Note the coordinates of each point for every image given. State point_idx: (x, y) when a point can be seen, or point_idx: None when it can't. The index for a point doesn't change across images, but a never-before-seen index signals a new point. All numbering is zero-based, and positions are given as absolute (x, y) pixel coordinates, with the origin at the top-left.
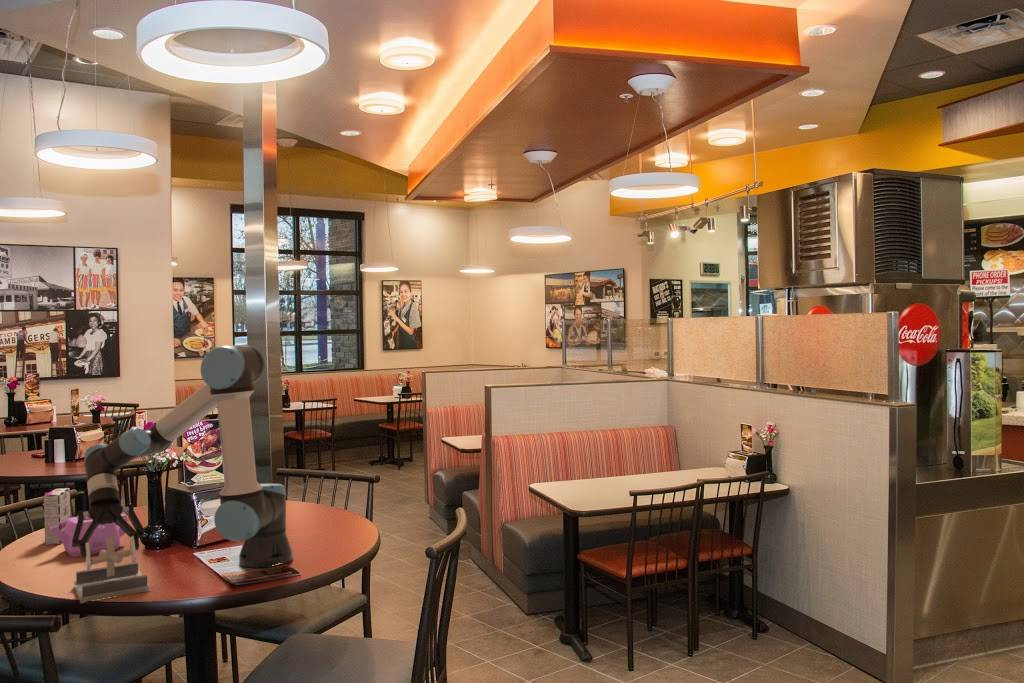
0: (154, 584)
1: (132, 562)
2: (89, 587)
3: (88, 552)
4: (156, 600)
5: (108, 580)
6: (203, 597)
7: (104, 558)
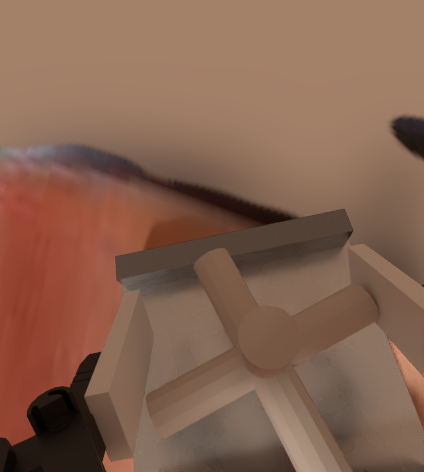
0: None
1: (153, 336)
2: (319, 216)
3: (395, 278)
4: (118, 181)
5: None
6: (6, 162)
7: (292, 316)
